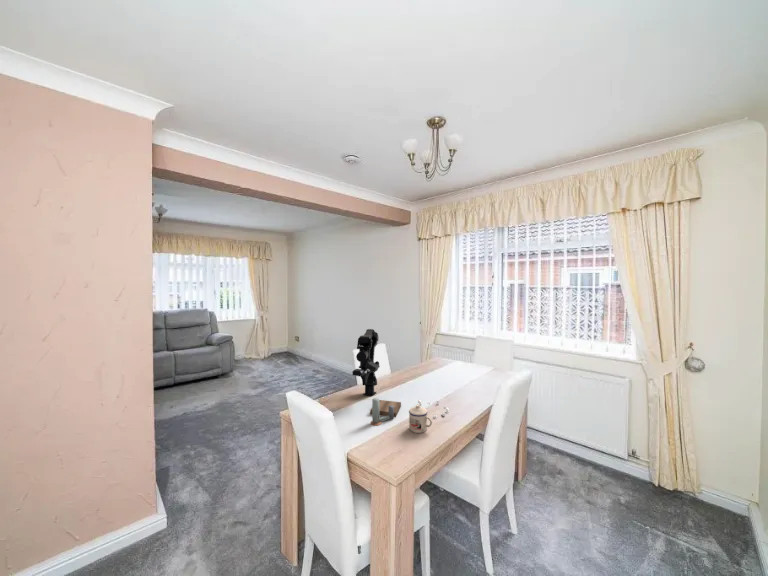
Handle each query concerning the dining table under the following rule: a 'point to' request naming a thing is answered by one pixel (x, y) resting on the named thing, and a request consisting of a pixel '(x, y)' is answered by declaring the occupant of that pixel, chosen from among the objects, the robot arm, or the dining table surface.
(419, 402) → the game piece set
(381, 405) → the stool seat
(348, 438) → the dining table surface
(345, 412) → the dining table surface
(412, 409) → the teacup with lid
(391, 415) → the grey u-shaped piece
